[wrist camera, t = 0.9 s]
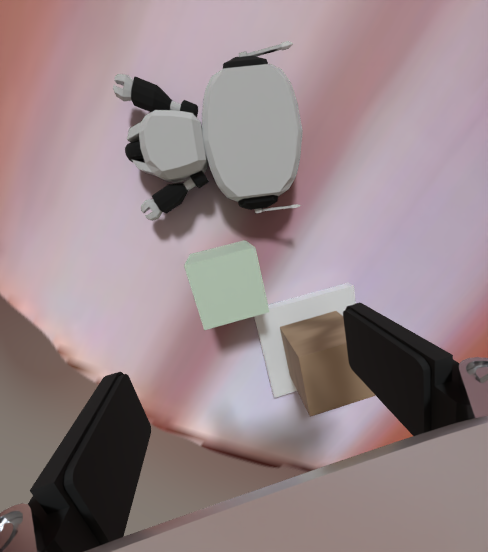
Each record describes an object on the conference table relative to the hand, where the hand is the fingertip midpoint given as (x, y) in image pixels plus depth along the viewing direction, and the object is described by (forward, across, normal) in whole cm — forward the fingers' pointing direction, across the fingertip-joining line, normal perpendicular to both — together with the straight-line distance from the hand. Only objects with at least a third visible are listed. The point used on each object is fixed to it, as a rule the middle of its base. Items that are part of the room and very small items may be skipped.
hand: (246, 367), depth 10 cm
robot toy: (+17, -2, -12) cm, 21 cm away
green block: (+16, 0, 0) cm, 16 cm away
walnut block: (+15, -8, +11) cm, 20 cm away
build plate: (+16, -8, +11) cm, 21 cm away
